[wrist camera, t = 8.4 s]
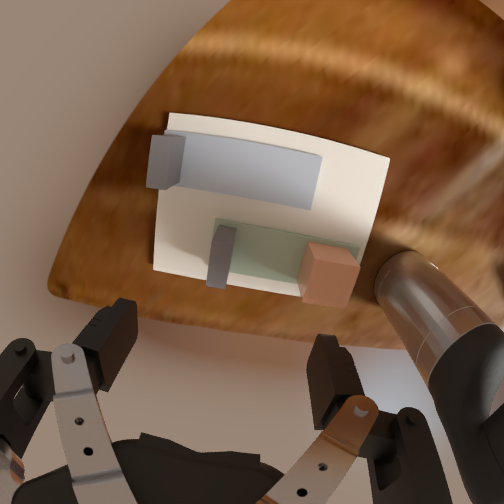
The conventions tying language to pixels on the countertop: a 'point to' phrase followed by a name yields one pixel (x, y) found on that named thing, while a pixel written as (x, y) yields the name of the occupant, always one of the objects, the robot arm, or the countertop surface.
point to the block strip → (259, 252)
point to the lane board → (266, 213)
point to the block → (327, 275)
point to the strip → (233, 168)
